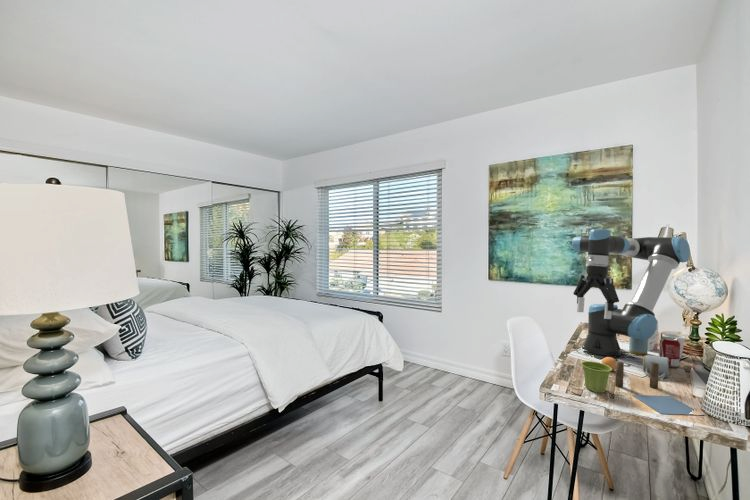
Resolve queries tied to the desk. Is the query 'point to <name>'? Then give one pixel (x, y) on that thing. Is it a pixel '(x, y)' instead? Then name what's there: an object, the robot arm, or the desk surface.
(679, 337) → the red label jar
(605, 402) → the desk surface
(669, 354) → the red labelled jar
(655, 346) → the ink cartridge box
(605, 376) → the plant pot
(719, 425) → the desk surface
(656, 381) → the post
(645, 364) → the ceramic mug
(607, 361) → the orange round fruit
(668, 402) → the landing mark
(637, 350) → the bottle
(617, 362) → the post
